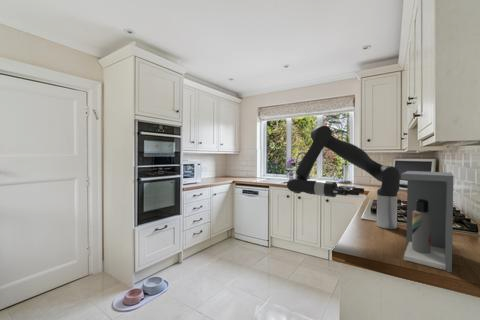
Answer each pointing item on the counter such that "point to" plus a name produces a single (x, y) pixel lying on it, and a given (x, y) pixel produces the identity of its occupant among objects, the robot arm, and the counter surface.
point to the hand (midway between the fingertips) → (361, 191)
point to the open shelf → (433, 207)
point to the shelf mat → (426, 257)
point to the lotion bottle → (421, 227)
